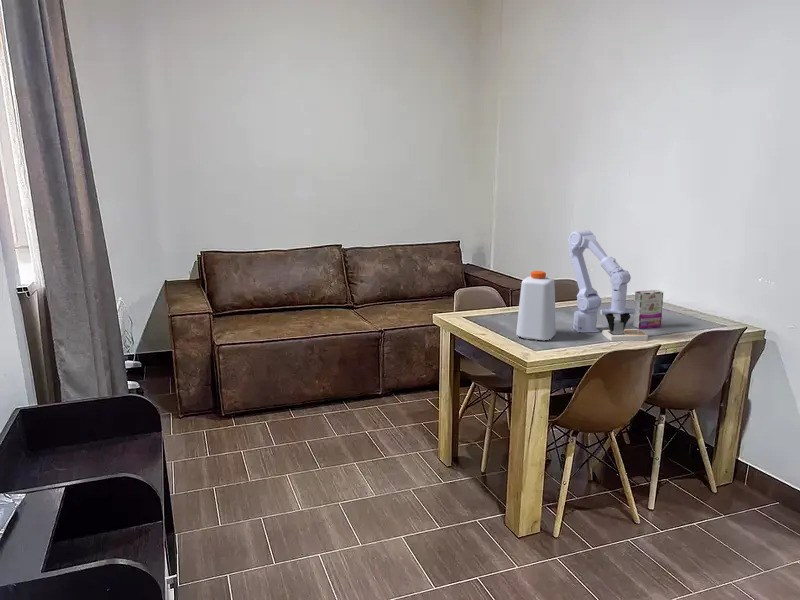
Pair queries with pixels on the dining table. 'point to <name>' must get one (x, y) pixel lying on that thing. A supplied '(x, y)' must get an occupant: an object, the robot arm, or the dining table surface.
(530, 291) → the plastic bottle
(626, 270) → the robot arm
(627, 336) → the shallow wooden tray
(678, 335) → the dining table surface
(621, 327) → the steel block
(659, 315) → the candy bar box
